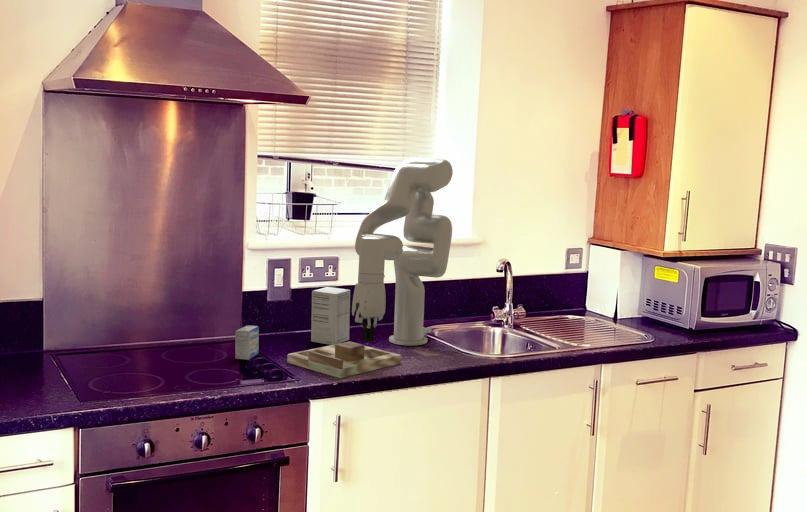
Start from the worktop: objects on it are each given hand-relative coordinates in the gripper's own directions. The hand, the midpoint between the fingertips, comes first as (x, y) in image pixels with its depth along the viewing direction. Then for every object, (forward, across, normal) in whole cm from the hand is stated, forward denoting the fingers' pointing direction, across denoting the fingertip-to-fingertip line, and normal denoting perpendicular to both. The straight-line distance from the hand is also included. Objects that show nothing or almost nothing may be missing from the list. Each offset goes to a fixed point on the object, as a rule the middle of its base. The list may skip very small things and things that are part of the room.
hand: (368, 340), depth 260 cm
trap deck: (+7, +5, -4) cm, 10 cm away
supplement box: (+6, -11, -27) cm, 30 cm away
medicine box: (+7, +22, -28) cm, 37 cm away
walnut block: (+4, +7, 0) cm, 8 cm away
